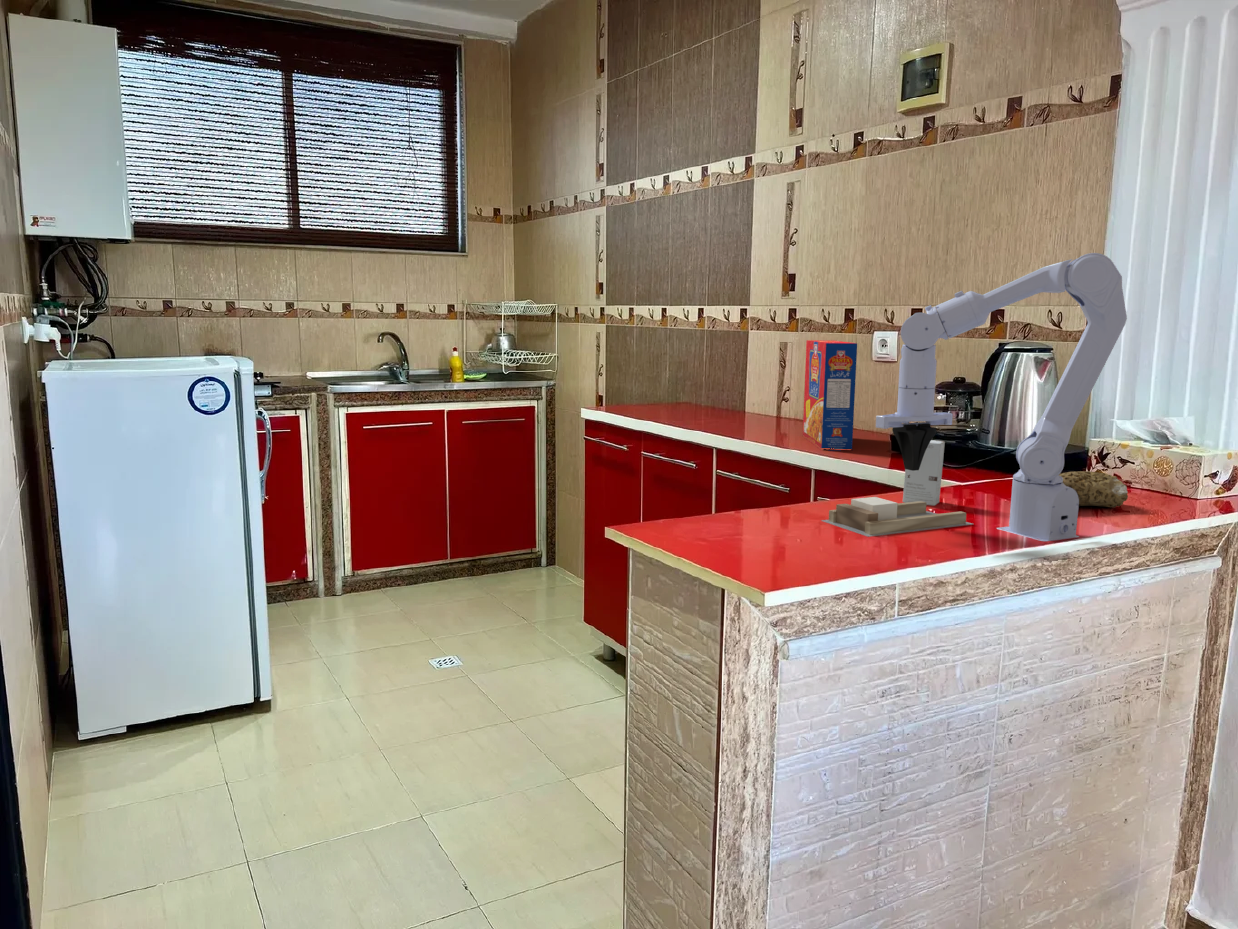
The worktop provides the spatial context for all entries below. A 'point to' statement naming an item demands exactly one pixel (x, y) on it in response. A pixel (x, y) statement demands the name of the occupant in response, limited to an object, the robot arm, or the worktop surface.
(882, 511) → the block
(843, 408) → the pasta box
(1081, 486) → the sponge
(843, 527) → the track board
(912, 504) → the guide rails
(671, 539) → the worktop surface
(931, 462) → the skincare box
